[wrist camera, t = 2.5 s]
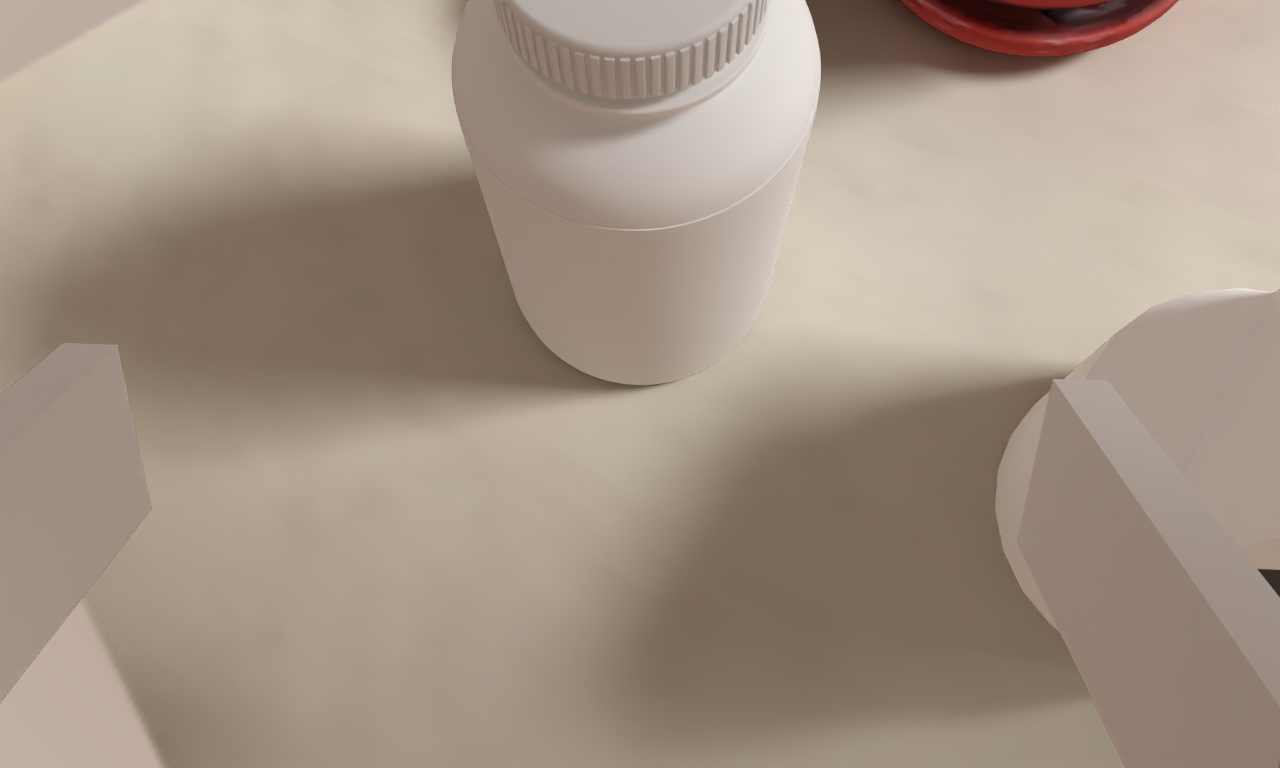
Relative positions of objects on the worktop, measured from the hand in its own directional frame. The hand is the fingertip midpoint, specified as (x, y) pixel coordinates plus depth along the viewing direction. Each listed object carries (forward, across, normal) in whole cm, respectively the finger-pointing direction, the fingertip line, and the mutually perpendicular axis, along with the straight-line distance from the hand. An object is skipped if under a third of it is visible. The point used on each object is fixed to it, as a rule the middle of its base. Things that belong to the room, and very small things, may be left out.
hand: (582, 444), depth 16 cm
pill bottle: (+18, 0, -4) cm, 19 cm away
